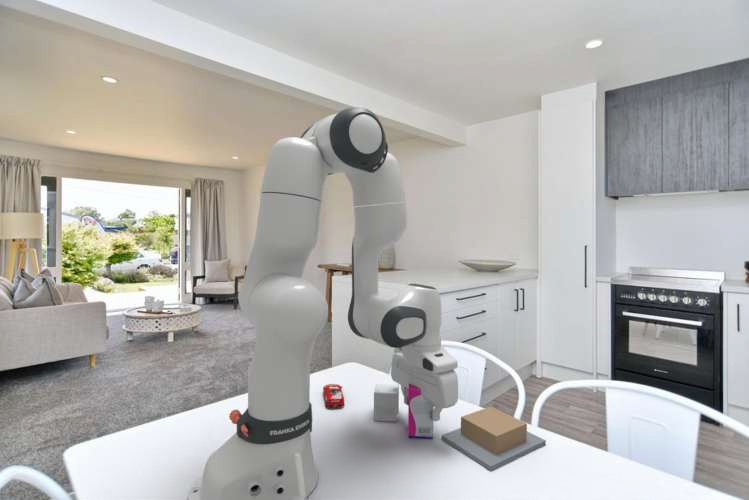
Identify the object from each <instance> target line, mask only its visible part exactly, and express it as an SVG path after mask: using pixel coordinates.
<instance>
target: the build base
mask: <svg viewBox="0 0 749 500" xmlns="http://www.w3.org/2000/svg"><path fill="white" fill-rule="evenodd" d="M527 430H528V423H527V422H524V421H523V420H520V419H519V418H516V417H514V416H511V415H509V414H507V413H506V412H503V411H501V410H499V409H497V408H494V407H492V406H488V407H486V408H483V409H479V410H477V411H473V412H471V413H468V414H465V415H462V416H460V428H457V429H454V430H451V431H449V432H446V433H444V434H441V437H440V439H441V440H442V441H443V442H445V443H446V444H447V445H449V446H450V447H453V448H454V449H456V450H457V451H458V452H460V453H462V454H463V455H465V456H466V457H467V458H469V459H471V460H472V461H474V462H475V463H477V464H479V465H480V466H482V467H483V468H484V469H487V470H488V471H490V472H492V471H495V470H496V469H499V468H500V467H502V466H505V465H507V464H509V463H511V462H513V461H514V460H515V461H516V460H517V459H519V458H521V457H523V456H525V455H528V454H530V453H532V452H533V451H536V450H538V449H540V448H542V447H544V446H546V445H547V444H546V443H547V441H546V439H543V438H541V437H539V436H537V435H535V434H533V433H531V432H529V431H527Z"/></svg>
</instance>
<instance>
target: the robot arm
mask: <svg viewBox="0 0 749 500" xmlns="http://www.w3.org/2000/svg"><path fill="white" fill-rule="evenodd" d="M386 137H387V136H386V132H385V130H384V126H383V125H382V123H381V120H380V119H379V117H378V116H377V115H376V114H375V113H374V112H372V111H371V110H369V109H368V108H365V107H349V108H345V109H343V110H340V111H339V112H335V113H334V114H331V115H327V116H324V118H322V119H320V120H319V121H316V123H315V124H312V125H311V126H309V127H308V128H307V129H306V130H305V131H304V132H303V133H302V135H301V136H300V137H296V136H290V137H284V138H281V139H279V140H277V141H276V142H275V143H274V145H273V146H272V147H271V150H270V153H269V156H268V159H267V162H266V166H265V170H264V173H263V179H262V184H261V185H262V186H261V191H260V198H259V205H258V214H257V221H256V230H255V236H254V239H253V244H252V248H251V253H250V256H249V258H248V262H247V265H246V268H245V273H244V276H243V281H242V283H241V285H240V286H239V289H238V292H237V300H238V305H239V308H240V311H241V313H242V314H243V316H244V317H245V319H246V320H248V322H250V323H251V324H253V325H254V326H255V343H254V350H253V354H252V359H251V362H249V365H248V367H247V408H246V409H245V410H244V412H243V413H241V411H239V409H233V410H231V411H230V413H229V415H228V418H229V420H230V421H231V423H232V424H233V425H236V432H235V433H234V434H233V435H232V436H230V438H228V439H227V440H226V441H225V442H224V443H223V444H222V445H221V446H220V447H219V448H217V449H216V450H215V451H214V452H213V453H212V454H210V455H209V456H208V459H207V460H206V462H205V466H204V470H203V473H202V478H200V479H198V480H196V481H195V482H194V483H193V484H192V486H191V488H190V490H189V492H188V497H187V500H307V498H308V496H309V495H310V494H311V493H312V492H313V491H314V490H315V488H316V486H317V484H318V482H319V472H318V470H317V468H316V464H315V459H314V453H313V447H312V439H311V438H312V436H311V433H312V432H313V431H312V430H313V407H312V403H311V401H310V397H311V396H310V393H311V392H310V390H311V389H310V388H311V384H310V383H311V381H310V379H311V377H310V376H311V375H310V374H311V371H310V370H311V361H312V356H313V351H314V347H315V343H316V341H317V337H318V335H320V334H321V332H322V331H323V329H324V327H325V326H326V323H327V322H328V318H329V317H328V316H329V305H328V302H327V299H326V296H325V295H324V294H323V293H322V292H321V290H319V288H318V287H317V286H315V284H313V283H311V281H309V280H307V279H305V278H303V273H304V270H305V267H306V264H307V262H308V259H309V256H310V254H311V253H312V252H313V251H314V249H315V248H316V246H317V242H318V238H319V237H318V236H319V229H320V228H319V227H320V221H321V213H322V204H323V203H322V202H323V191H324V185H325V182H326V180H327V177H328V176H330V175H333V174H344V175H345V177H346V178H347V179H348V181H349V183H350V187H351V190H352V203H353V214H354V215H353V216H354V231H353V232H354V233H353V237H352V244H351V299H350V304H349V307H348V312H347V322H348V326H349V329H350V330H351V331H352V332H353V334H354V335H356V336H358V337H360V338H364V339H367V340H371V341H374V342H376V343H378V344H380V345H384V346H386V347H389V348H392V349H393V348H394V350H393V351H394V354H393V356H392V359H391V365H390V366H391V367H390V368H391V369H390V377H391V380H392V381H393V382H395V384H399V386H400V390H401V393H402V396H403V403H404V404H405V405H407V406H408V388H409V383H410V384H412V385H414V386H416V387H418V388H420V389H421V395H422V397H424V398H426V399H427V400H429V401H431V402H433V407H434V410H433V411H431V412H430V419H431V420H433V421H434V423H435V422H438V421H440V419H441V412H442V411H443V409H449V408H452V407H454V406H455V405H456V404H457V403H458V399H459V379H458V375H457V372H456V371H455V369H457V368H458V359H457V358H456V357H454V356H453V355H452V354H451V353H450V352H448V350H447V349H445V347H444V346H442V337H441V333H440V331H441V325H442V302H441V295H440V293H439V291H438V289H437V288H436V287H434V286H432V285H431V286H430V285H425V284H419V283H418V284H417V283H409V284H407V285H406V286H405V288H404V289H403V291H402V292H401V293H399V294H398V295H397V296H395V297H393V298H391V299H389V300H388V299H384V298H383V297H382V296H381V294H380V293H379V260H380V258H381V254H382V253H383V252H384V251H385V250H386V249H387V248H389V247H390V246H393V245H394V244H395V243H397V242H398V241H399V240H400V238H401V237H403V235H404V233H405V231H406V228H407V219H408V215H407V214H408V213H407V204H406V203H407V202H406V194H405V193H406V192H405V187H404V182H403V177H402V173H401V169H400V166H399V162H398V160H397V158H396V157H395V156H394V155H393V154H392V153H390V152H388V151H389V147H388V146H389V144H388V143H387V138H386Z"/></svg>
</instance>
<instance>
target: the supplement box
mask: <svg viewBox="0 0 749 500" xmlns="http://www.w3.org/2000/svg"><path fill="white" fill-rule="evenodd" d="M407 406H408V408H407V409H408V410H407V411H408V414H407V416H408V417H407V419H408V421H407V422H408V423H407V426H408V429H407V430H408V431H407V432H408V433H407V435H408V436H407V437H408V438H409V439H422V440H423V439H424V440H434V425H435V424H434V423H435V421H433V420H431V419H430V412H431V411H433V410H434V408H435V407H433V402H431V401H429V400H427V399H426V398H424V397H422V395H421V389H420V388H418V387H416V386H414V385H412V384H410V383H409V388H408V405H407Z"/></svg>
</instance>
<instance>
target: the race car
mask: <svg viewBox="0 0 749 500" xmlns="http://www.w3.org/2000/svg"><path fill="white" fill-rule="evenodd" d="M342 388H344V387H343V386H342V385H340V384H335V383H329V384H326V385H324V386H323V387H322V390H323V399H324V400H323V401H324V404H325V407H326V408H327V409H336V408H344V406H345V396H344V393H343V390H342Z"/></svg>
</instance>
